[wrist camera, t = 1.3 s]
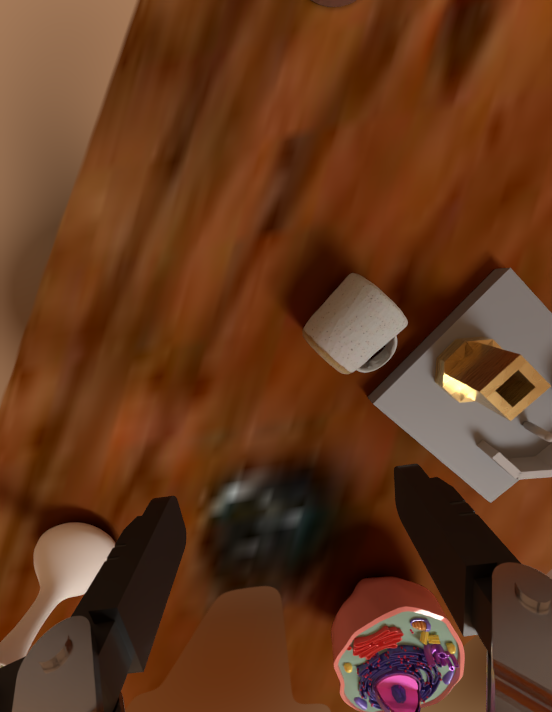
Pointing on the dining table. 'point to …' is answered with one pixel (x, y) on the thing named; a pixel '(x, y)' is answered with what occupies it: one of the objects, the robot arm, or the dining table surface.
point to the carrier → (471, 419)
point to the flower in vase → (58, 578)
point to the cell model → (394, 647)
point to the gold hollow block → (488, 376)
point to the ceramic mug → (355, 326)
